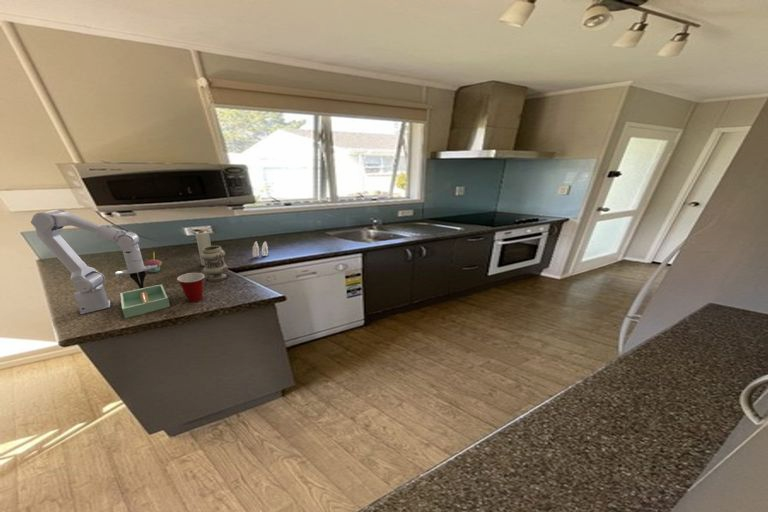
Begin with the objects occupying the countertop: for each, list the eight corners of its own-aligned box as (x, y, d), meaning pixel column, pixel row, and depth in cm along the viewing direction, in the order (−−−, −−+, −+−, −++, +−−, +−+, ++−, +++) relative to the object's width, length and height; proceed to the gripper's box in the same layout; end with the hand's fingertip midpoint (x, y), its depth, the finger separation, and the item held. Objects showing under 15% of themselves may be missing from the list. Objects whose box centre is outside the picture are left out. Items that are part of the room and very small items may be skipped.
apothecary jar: (206, 275, 165) (201, 245, 159) (230, 272, 170) (225, 243, 164) (203, 283, 154) (197, 251, 149) (228, 280, 159) (223, 249, 153)
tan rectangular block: (143, 309, 125) (138, 291, 125) (142, 307, 137) (138, 291, 136) (151, 307, 127) (147, 290, 127) (150, 306, 139) (146, 290, 138)
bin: (124, 318, 120) (122, 309, 118) (122, 301, 133) (120, 293, 132) (170, 306, 130) (168, 297, 128) (163, 292, 143) (161, 284, 142)
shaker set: (254, 259, 192) (252, 243, 188) (250, 258, 194) (248, 242, 191) (270, 255, 201) (268, 239, 198) (266, 253, 203) (264, 238, 200)
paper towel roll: (200, 264, 181) (193, 231, 175) (210, 262, 186) (204, 230, 179) (204, 267, 177) (197, 233, 170) (214, 265, 181) (208, 232, 174)
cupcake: (162, 267, 175) (157, 248, 171) (164, 271, 169) (159, 252, 165) (144, 270, 169) (139, 251, 165) (146, 275, 163) (140, 255, 159)
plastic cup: (201, 304, 132) (196, 280, 129) (177, 304, 131) (171, 281, 128) (213, 294, 143) (208, 271, 139) (190, 294, 142) (185, 272, 138)
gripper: (153, 254, 134) (160, 280, 138) (111, 260, 124) (120, 289, 129) (155, 258, 129) (162, 285, 133) (111, 265, 119) (120, 294, 124)
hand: (141, 287), depth 131 cm, fingers closed
